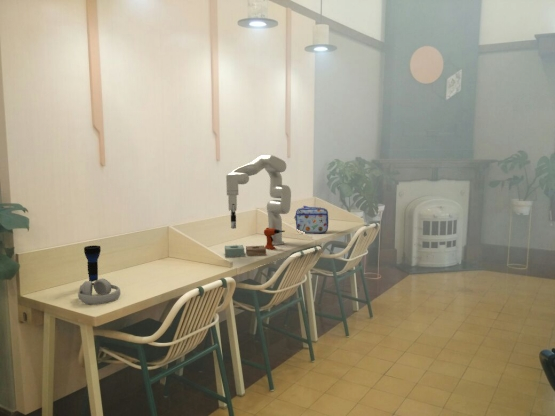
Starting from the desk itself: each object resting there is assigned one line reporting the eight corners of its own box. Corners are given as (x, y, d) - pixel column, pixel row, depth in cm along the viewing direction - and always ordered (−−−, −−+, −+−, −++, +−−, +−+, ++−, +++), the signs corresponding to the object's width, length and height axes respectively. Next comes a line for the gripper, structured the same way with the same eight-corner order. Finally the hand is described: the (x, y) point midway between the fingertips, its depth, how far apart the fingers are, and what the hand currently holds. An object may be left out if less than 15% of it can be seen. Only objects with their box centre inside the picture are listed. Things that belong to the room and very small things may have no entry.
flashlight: (105, 284, 258) (103, 246, 255) (90, 287, 252) (87, 249, 250) (98, 281, 263) (96, 244, 261) (83, 284, 258) (81, 246, 255)
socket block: (246, 252, 331) (245, 246, 331) (264, 251, 333) (263, 245, 332) (247, 256, 320) (247, 249, 319) (266, 255, 321) (265, 249, 321)
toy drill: (284, 249, 330) (281, 227, 330) (263, 249, 342) (261, 228, 342) (289, 248, 334) (286, 226, 333) (268, 248, 346) (265, 227, 346)
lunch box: (293, 234, 398) (293, 206, 395) (295, 231, 408) (294, 205, 406) (328, 234, 394) (328, 206, 392) (328, 232, 404) (328, 205, 402)
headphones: (72, 296, 236) (84, 312, 221) (72, 280, 235) (84, 295, 219) (111, 289, 247) (125, 303, 232) (111, 274, 245) (125, 288, 230)
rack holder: (224, 253, 330) (224, 245, 329) (243, 252, 331) (242, 244, 331) (225, 257, 318) (225, 249, 317) (244, 256, 319) (244, 248, 319)
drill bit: (231, 227, 324) (230, 212, 323) (235, 227, 324) (235, 212, 323) (231, 228, 321) (230, 213, 319) (236, 228, 321) (235, 213, 320)
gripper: (226, 192, 327) (227, 219, 329) (227, 194, 311) (228, 223, 313) (237, 191, 328) (238, 219, 330) (239, 193, 312) (239, 222, 314)
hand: (233, 220), depth 322 cm, fingers closed on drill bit, 3 cm apart
